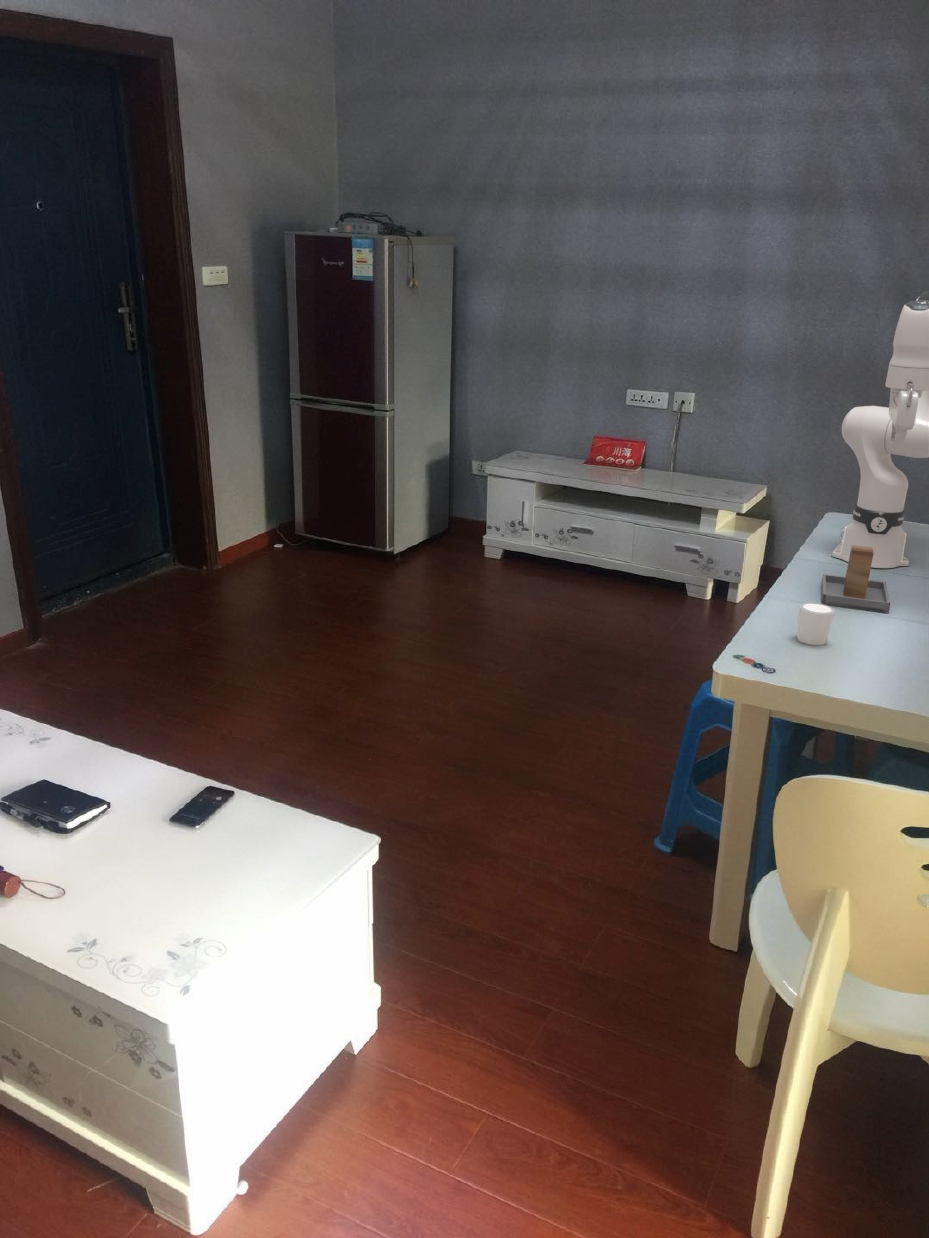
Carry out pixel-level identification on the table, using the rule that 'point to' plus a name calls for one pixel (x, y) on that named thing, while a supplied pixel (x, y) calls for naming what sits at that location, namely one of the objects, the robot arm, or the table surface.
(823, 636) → the white cup
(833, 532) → the table surface
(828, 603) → the charcoal tray
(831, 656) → the table surface
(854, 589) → the walnut block
